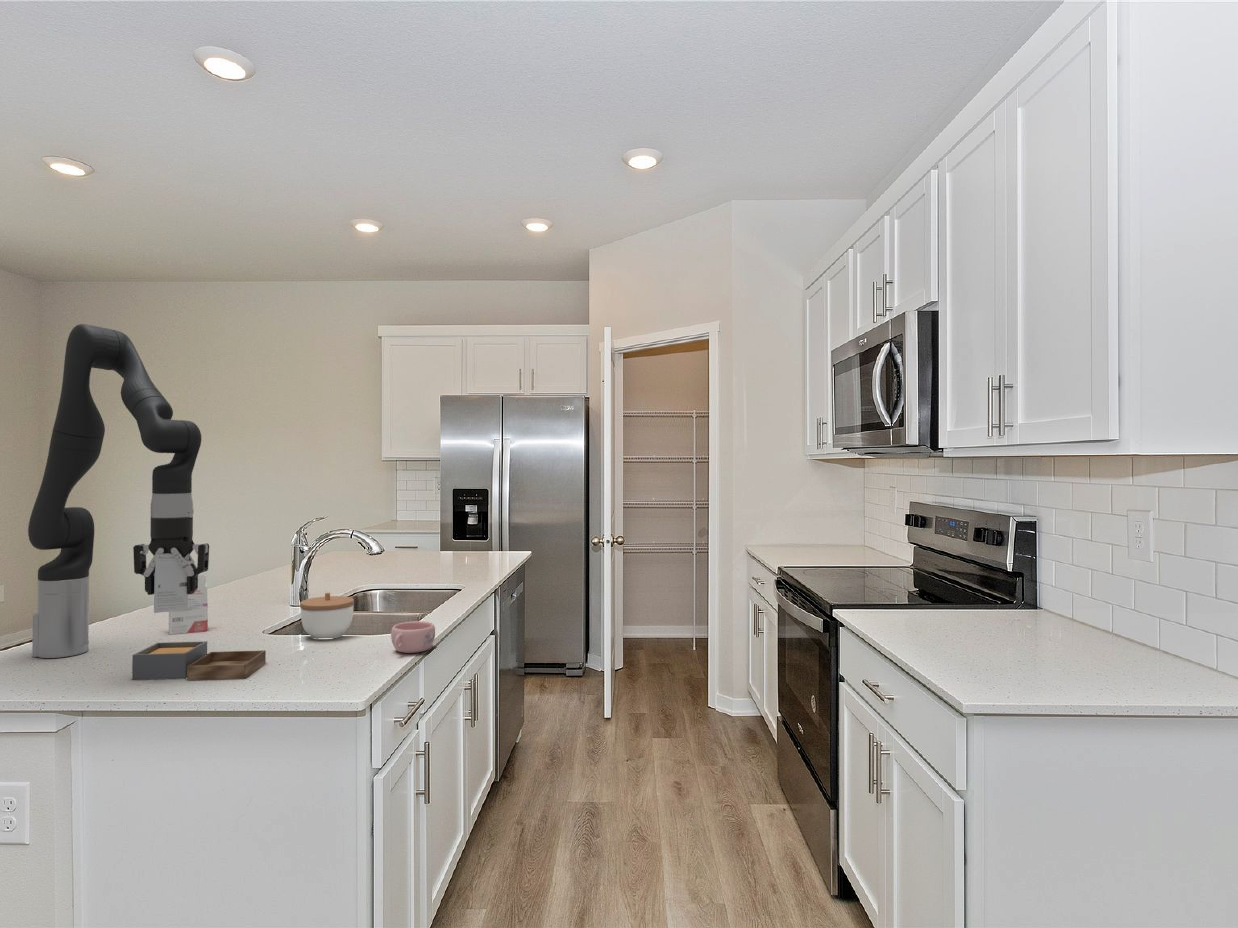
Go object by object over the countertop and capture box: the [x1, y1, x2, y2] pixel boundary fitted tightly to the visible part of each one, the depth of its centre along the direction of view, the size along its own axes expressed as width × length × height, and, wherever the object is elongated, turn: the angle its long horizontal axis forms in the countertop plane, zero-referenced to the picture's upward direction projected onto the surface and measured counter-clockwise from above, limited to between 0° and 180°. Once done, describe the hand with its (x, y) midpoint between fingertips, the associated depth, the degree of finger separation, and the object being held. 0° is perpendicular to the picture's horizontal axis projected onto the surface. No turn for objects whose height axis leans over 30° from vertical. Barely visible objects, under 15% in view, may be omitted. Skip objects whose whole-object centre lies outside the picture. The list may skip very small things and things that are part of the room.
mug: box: [390, 620, 436, 654], centre depth 166 cm, size 12×10×6 cm
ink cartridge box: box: [168, 574, 209, 635], centre depth 184 cm, size 9×5×15 cm, turn 118°
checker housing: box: [131, 640, 208, 681], centre depth 148 cm, size 10×10×5 cm
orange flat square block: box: [149, 647, 194, 654], centre depth 148 cm, size 8×8×2 cm
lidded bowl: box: [299, 592, 355, 641], centre depth 179 cm, size 13×13×11 cm
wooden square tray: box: [186, 649, 267, 681], centre depth 149 cm, size 11×11×3 cm
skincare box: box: [153, 553, 189, 614], centre depth 148 cm, size 6×4×12 cm
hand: (171, 593), depth 148 cm, fingers closed on skincare box, 7 cm apart
